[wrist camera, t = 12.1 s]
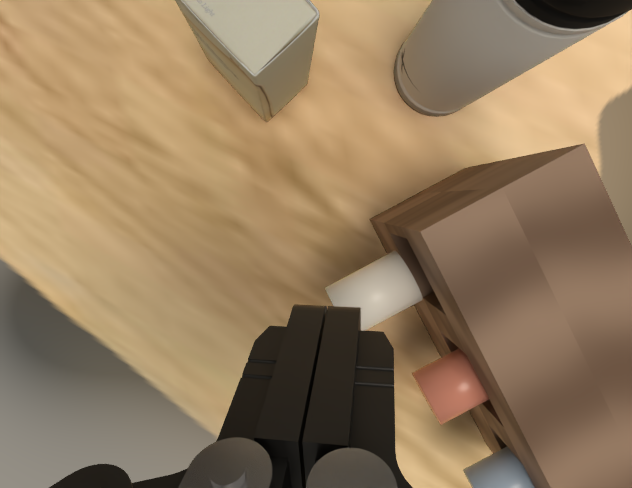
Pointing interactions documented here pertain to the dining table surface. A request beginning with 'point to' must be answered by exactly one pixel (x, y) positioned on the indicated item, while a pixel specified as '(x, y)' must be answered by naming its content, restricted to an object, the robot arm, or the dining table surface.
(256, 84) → the skincare box
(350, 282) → the white key
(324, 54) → the dining table surface
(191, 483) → the robot arm
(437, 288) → the box
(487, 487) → the blue key
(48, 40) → the dining table surface
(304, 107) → the dining table surface
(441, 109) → the travel mug
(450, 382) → the red key
